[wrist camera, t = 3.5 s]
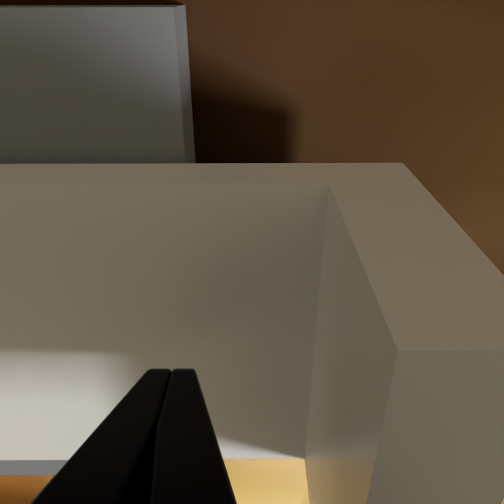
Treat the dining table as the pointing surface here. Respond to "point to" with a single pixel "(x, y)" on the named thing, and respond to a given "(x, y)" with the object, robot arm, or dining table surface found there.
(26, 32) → the grey piece
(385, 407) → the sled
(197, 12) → the dining table surface
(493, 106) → the dining table surface
